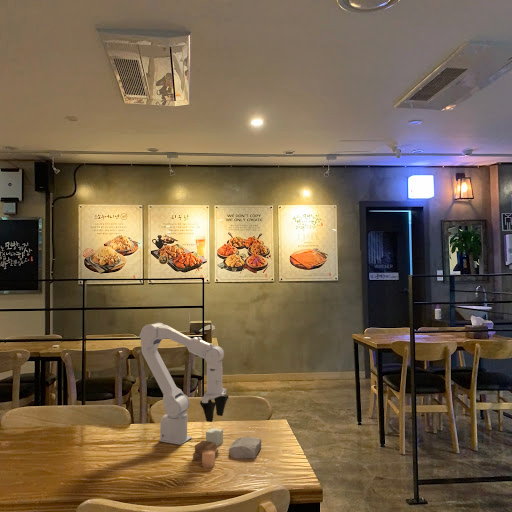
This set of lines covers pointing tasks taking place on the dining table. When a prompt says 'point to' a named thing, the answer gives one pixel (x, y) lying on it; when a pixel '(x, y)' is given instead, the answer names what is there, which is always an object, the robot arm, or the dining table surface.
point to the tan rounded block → (208, 459)
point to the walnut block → (205, 447)
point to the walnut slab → (199, 456)
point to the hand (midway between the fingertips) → (214, 418)
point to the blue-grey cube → (215, 436)
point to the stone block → (245, 447)
